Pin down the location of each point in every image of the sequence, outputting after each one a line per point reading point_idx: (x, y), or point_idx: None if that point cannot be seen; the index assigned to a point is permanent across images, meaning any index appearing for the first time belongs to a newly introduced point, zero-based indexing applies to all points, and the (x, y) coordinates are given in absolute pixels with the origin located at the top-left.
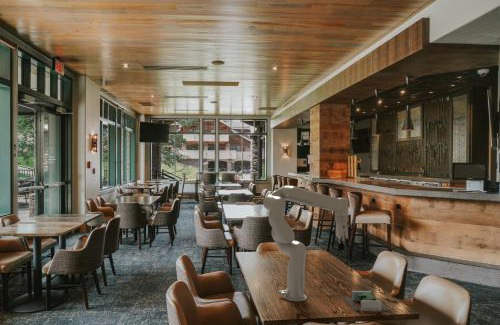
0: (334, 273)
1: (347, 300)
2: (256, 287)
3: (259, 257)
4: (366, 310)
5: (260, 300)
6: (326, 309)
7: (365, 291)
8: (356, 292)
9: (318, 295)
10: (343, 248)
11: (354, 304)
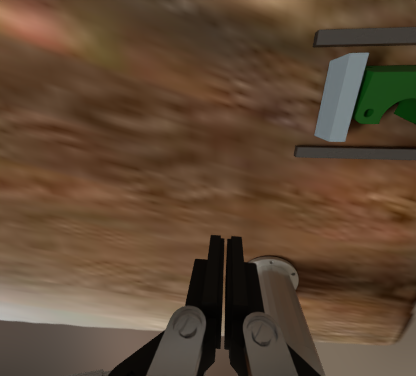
0: None
1: (326, 157)
2: None
3: None
4: None
5: None
6: (373, 233)
7: (352, 81)
8: (347, 127)
9: (248, 222)
10: (241, 254)
11: (385, 150)
